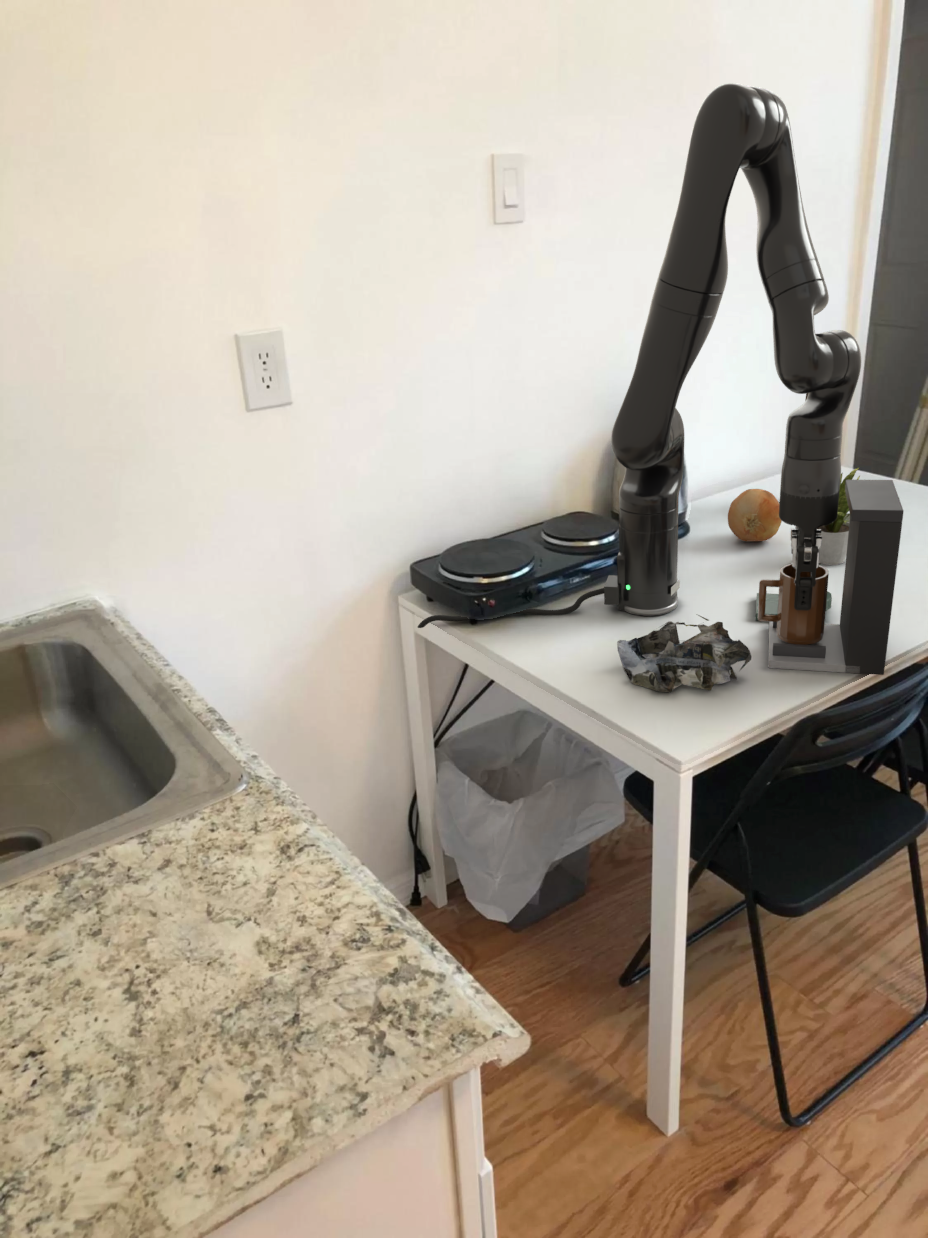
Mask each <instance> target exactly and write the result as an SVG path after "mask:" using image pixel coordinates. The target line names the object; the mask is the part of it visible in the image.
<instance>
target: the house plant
mask: <svg viewBox="0 0 928 1238" xmlns="http://www.w3.org/2000/svg"><path fill="white" fill-rule="evenodd" d="M859 468H860V467H856V468H854V469H852V470H851V471H850V472H849V473H848V474H847V475H846V476H845V477H844V479H843V472H841V479H840V490H839V502H838V513H837V519H836V520H835V521H834V522H833V523H831V524H829V525H826V526H824V525H823V526H820V527H818V528H817V529H821V536H822V546H821V548H820V552H819V565H820V564H821V565H827V566H836V565H841V564H843V563H845V562H846V553H847V543H848V533H849V522H847V521H849V520H845V519H846V518H847V517H848V516H849V515H850V514H848V513H849V507H848V502H847V498H846V493H845V484H846V480H854V477H855V476H856V473H857V471H858V470H859ZM860 477H861V475H858V477H857V478H856V480H860ZM846 514H848V515H847V517H846V518H845V519H844V517H845V516H846ZM843 519H844V520H845V521H844V520H843Z"/></svg>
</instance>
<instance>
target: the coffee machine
mask: <svg viewBox="0 0 928 1238" xmlns="http://www.w3.org/2000/svg"><path fill="white" fill-rule="evenodd" d="M845 493H846V498H847V502H848V507H849V511H848V513H850V522H849V533H848V543H847V553H846V558H845V565H844V575H843V585H842V596H841V606H840V615H839V624H838V623H837V624H835V623H825V624H824V634H823V638H822V640H821V641H819V642H817V643H814V644H809V645H800V644H791V643H787V642H784V641H782V640H781V639H779V638H778V637H777V635H776V628H777V622H768V657H767V658H768V660H767V661H768V663H767V664H768V667H767V668H769V669H782V670H796V671H797V670H798V671H799V670H800V671H814V672H829V673H845V674H862V675H865V674H866V675H876V676H877V675H880V676H884V675H885V668H886V660H887V653H888V651H887V650H888V643H889V635H890V628H891V627H890V626H891V619H892V611H893V601H894V594H895V585H896V577H897V569H898V568H897V567H898V561H899V553H900V544H901V535H902V528H903V519H904V508H903V505H902V503H901V500H900V496H899V495H898V491H897V488H896V486H895V484H894V481H893V479H859V480H857V479H852V480H846V484H845Z"/></svg>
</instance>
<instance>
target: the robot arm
mask: <svg viewBox="0 0 928 1238" xmlns="http://www.w3.org/2000/svg"><path fill="white" fill-rule="evenodd" d="M793 141H794V140H793V134H792V128H791V122H790V118H789V114H788V109H787V107H786V104H785V103H784V101H783V100H782V98H781V97H780V96H779V95H778V93H776V92H774V91H772V90H770V89H767V88H763V87H759V86H758V87H757V86H752V85H748V84H742V83H737V82H728V83H723V84H720V85H717V86H716V87H714V88H713V89H712V90H711V91H710V92H709V93H708V95H706V97H705V98H704V100H703V101H702V103H701V105H700V107H699V109H698V111H697V113H696V116H695V119H694V123H693V125H692V130H691V134H690V139H689V145H688V150H687V156H686V162H685V168H684V171H683V172H684V173H683V178H682V182H681V183H682V184H681V189H680V194H679V199H678V202H677V207H676V211H675V214H674V218H673V222H672V226H671V230H670V234H669V238H668V242H667V246H666V250H665V253H664V257H663V259H662V260H663V261H662V263H661V266H660V269H659V272H658V276H657V279H656V282H655V286H654V289H653V294H652V298H651V301H650V306H649V311H648V315H647V318H646V322H645V326H644V329H643V333H642V337H641V341H640V346H639V350H638V354H637V358H636V363H635V367H634V371H633V373H632V377H631V380H630V383H629V385H628V388H627V390H626V393H625V396H624V397H623V401H622V404H621V406H620V409H619V410H618V413H617V416H616V419H615V421H614V423H613V425H612V426H613V427H612V429H611V437H610V442H611V448H612V453H613V454H614V456H615V459H616V460H617V461H618V462H619V463H620V464H621V465H622V466H623V467H624V468H625V471H624V476H623V479H622V482H621V484H620V487H619V489H618V553H617V556H616V574H617V575H614V574H613V575H610V574H609V575H608V576H607V578H606V581H605V583H604V585H603V587H602V588H598V589H594V590H591V591H588V592H586V593H584V594H582V595H580V596H579V597H578V598H577V599H576V601H575V602H574V603H573V604H572V605H569V606H568V607H564V608H560V609H542V608H531V607H530V608H529V607H528V608H529V609H526V610H523V611H520V612H516V613H513V614H510V615H509V616H511V615H537V616H538V615H539V616H557V615H558V616H559V615H566V614H570V613H572V612H575V611H576V610H578V609H579V608H580V607H581V605H582V604H583V602H584V601H586V600H588V599H590V598H593V597H597V596H599V595H603V601H604V602H603V603H604V605H607V606H617V611H621V612H622V611H623V612H626V613H628V614H631V615H637V616H643V617H645V616H646V617H647V616H649V617H651V616H660V615H665V614H668V613H670V612H673V611H674V610H675V609H676V608H677V607H678V600H679V599H678V590H679V589H680V588H681V583H680V582H681V579H678V561H679V560H678V559H679V558H678V557H679V555H678V554H679V553H678V552H679V548H678V547H679V496H680V491H681V487H682V483H683V478H684V477H683V476H684V460H685V459H684V458H685V426H684V421H683V418H682V415H681V413H680V412H679V410H678V409H677V408H676V406H677V402H678V399H679V396H680V392H681V390H682V387H683V384H684V382H685V380H686V378H687V375H689V372H690V370H691V369H692V367H693V365H694V363H695V361H696V359H697V358H698V356H699V354H700V352H701V350H702V348H703V346H704V344H705V342H706V340H707V339H708V336H709V334H710V333H711V330H712V328H713V325H714V323H715V320H716V317H717V315H718V311H719V308H720V305H721V301H722V298H723V295H724V292H725V289H726V285H727V281H728V275H729V257H728V256H729V255H728V245H727V236H726V235H727V233H726V216H727V210H728V207H729V206H728V205H729V202H730V197H731V194H732V190H733V187H734V185H735V181H736V179H737V176H738V174H739V173H738V172H739V170H741V171H742V173H743V175H744V177H745V179H746V181H747V183H748V185H749V187H750V190H751V192H752V195H753V198H754V203H755V209H756V218H757V219H756V220H757V223H756V225H757V227H756V245H755V246H756V248H755V252H756V264H757V269H758V273H759V277H760V281H761V284H762V286H763V287H762V288H763V290H764V293H765V296H766V299H767V302H768V304H769V308H770V310H771V315H772V340H773V342H772V343H773V361H774V366H775V371H776V374H777V376H778V379H779V380H780V381H781V383H782V385H784V387H785V388H786V389H787V390H789V391H790V392H792V393H795V394H798V395H806V393H809V394H808V397H807V399H806V398H805V399H806V401H804V402H803V404H801V405H800V406H798V407H797V408H795V409H794V410H793V411H791V412H790V414H789V415H788V416H787V419H786V424H785V425H786V427H785V439H784V454H783V455H784V456H783V459H782V460H783V461H782V466H781V471H780V489H779V490H780V491H779V504H780V505H779V518H780V519H781V520H782V523H784V524H787V525H789V526H794V527H795V528H790V530H791V531H790V547H791V549H790V551H791V555H792V556H791V564H792V567H793V568H794V569H795V570H796V573H795V579H794V583H795V600H794V608H795V609H796V610H806V611H808V610H810V609H811V602H812V590H813V587H815V584H816V581H815V578H816V569H817V568H818V567H819V565H820V563H819V552H820V548H821V546H822V536H821V529H817V528H818V527H820V526H823V525H824V526H826V525H829V524H831V523H833V522H834V521H835V520H836V519H837V513H838V502H839V490H840V479H841V473H842V461H841V454H842V444H843V431H844V430H843V425H844V421H845V418H846V416H847V414H848V412H849V409H850V406H851V403H852V400H853V397H854V394H855V391H856V388H857V385H858V382H859V379H860V375H861V369H862V353H861V348H860V346H859V343H858V341H857V339H856V338H855V336H853V335H852V334H851V333H850V332H848V331H846V330H842V329H833V330H828V331H823V332H818V333H816V330H815V316H816V315H818V314H819V313H820V312H822V311H823V310H825V308H826V307H827V306H828V304H829V301H830V295H829V291H828V287H827V284H826V281H825V277H824V274H823V271H822V268H821V265H820V262H819V259H818V258H819V257H818V256H817V252H816V249H815V246H814V244H813V241H812V237H811V233H810V230H809V225H808V222H807V218H806V214H805V209H804V203H803V198H802V193H801V192H802V191H801V187H800V181H799V175H798V168H797V163H796V156H795V149H794V142H793ZM801 572H811V574H810V577H800V573H801ZM461 616H462V615H447V614H434V615H431V616H428V617H425V619H423V620H422V621H421V622H420V623H419V624H418V625H417V628H418V629H423V628H425V627H426V626H427V625H428V624H430V623H432V622H433V623H434V622H439V621H443V622H465V621H466V622H467V621H471V620H470V619H468V618H467V617H461Z"/></svg>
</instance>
